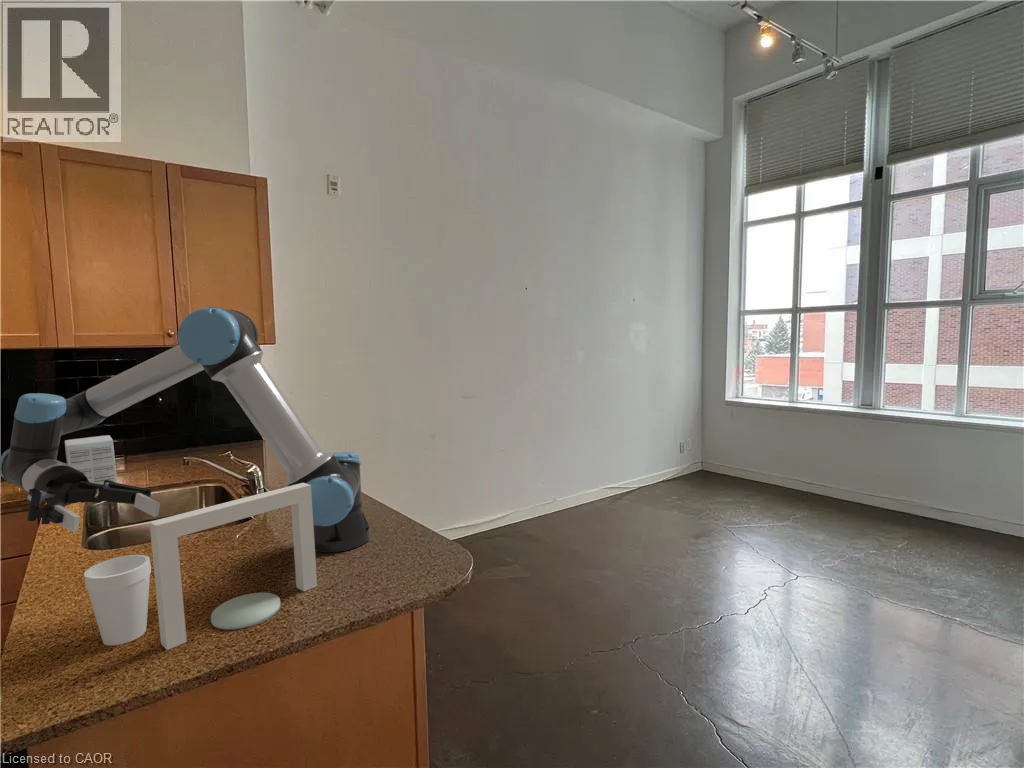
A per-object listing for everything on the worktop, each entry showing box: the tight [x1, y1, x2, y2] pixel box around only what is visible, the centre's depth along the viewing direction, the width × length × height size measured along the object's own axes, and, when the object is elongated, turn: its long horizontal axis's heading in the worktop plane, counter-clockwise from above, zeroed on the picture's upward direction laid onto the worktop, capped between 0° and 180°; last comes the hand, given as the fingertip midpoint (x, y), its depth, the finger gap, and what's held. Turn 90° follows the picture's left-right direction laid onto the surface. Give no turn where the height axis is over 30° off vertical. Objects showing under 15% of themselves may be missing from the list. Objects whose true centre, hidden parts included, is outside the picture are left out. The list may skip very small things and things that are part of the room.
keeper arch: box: [149, 483, 318, 651], centre depth 100 cm, size 28×12×22 cm, turn 141°
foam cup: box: [83, 554, 152, 646], centre depth 93 cm, size 10×9×13 cm
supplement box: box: [64, 434, 118, 484], centre depth 188 cm, size 13×13×18 cm
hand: (119, 516), depth 96 cm, fingers open, 13 cm apart
